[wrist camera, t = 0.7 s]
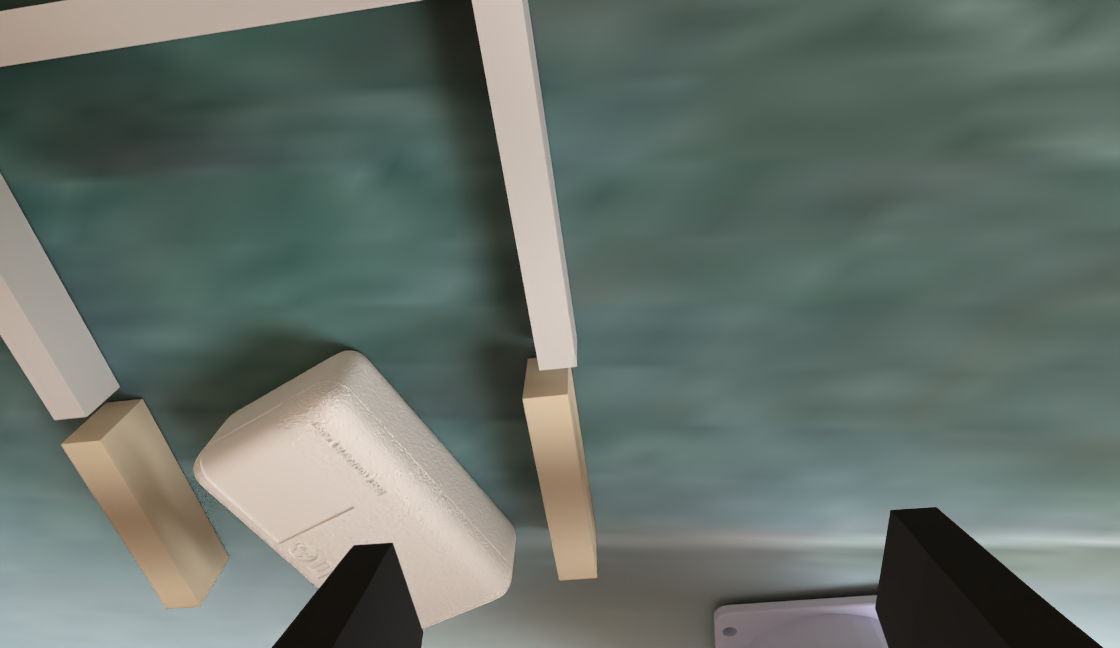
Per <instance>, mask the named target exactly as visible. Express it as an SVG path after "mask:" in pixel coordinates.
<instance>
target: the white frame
mask: <svg viewBox="0 0 1120 648" xmlns="http://www.w3.org/2000/svg"><path fill="white" fill-rule="evenodd" d="M415 1H421V0H65V1H59V2H53V3H46V4H40V5H34V6H28V7H22V8H16V9H10V10H4V11H0V67H3V66H9V65H16V64H22V63H28V62H35V61H41V60H47V59H54V58H60V57H66V56H73V55H79V54H85V53H92V52H98V51H104V50H111V49H117V48H123V47H130V46H136V45H142V44H149V43H155V42H161V41H168V40H174V39H180V38H187V37H193V36H199V35H206V34H212V33H218V32H225V31H231V30H237V29H244V28H250V27H256V26H263V25H269V24H275V23H282V22H288V21H294V20H301V19H307V18H313V17H320V16H326V15H332V14H339V13H345V12H351V11H358V10H364V9H370V8H377V7H383V6H389V5H396V4H402V3H408V2H415ZM472 5H473V11H474V16H475V22H476V27H477V33H478V38H479V44H480V49H481V54H482V60H483V65H484V71H485V76H486V82H487V87H488V93H489V98H490V104H491V109H492V115H493V120H494V126H495V131H496V136H497V142H498V147H499V153H500V158H501V164H502V169H503V175H504V180H505V186H506V191H507V197H508V202H509V208H510V213H511V219H512V224H513V229H514V235H515V240H516V246H517V251H518V257H519V262H520V268H521V273H522V279H523V284H524V290H525V295H526V301H527V306H528V311H529V317H530V322H531V328H532V333H533V339H534V344H535V350H536V355H537V361H538V366H539V371H541V370H550V369H560V368H570V367H577V335H576V328H575V321H574V314H573V307H572V301H571V294H570V287H569V280H568V273H567V266H566V259H565V253H564V246H563V239H562V232H561V225H560V218H559V211H558V205H557V198H556V191H555V184H554V177H553V170H552V163H551V156H550V150H549V143H548V136H547V129H546V122H545V115H544V108H543V102H542V95H541V88H540V81H539V74H538V67H537V60H536V54H535V47H534V40H533V33H532V26H531V19H530V12H529V5H528V0H472ZM0 335H1V337H2V338H3V340H4V342H5V343H6V345H7V346H8V348H9V349H10V351H11V353H12V354H13V356H14V357H15V359H16V361H17V362H18V364H19V365H20V367H21V368H22V370H23V372H24V373H25V375H26V376H27V378H28V379H29V381H30V383H31V384H32V386H33V387H34V389H35V390H36V392H37V394H38V395H39V397H40V398H41V400H42V401H43V403H44V405H45V406H46V408H47V409H48V411H49V412H50V414H51V416H52V417H53V419H54V420H62V419H71V418H81V417H87V416H88V415H90V414H91V413H92V412H93V411H94V410H95V409H96V408H97V407H98V406H100V405H101V404H102V403H103V402H104V401H105V400H106V399H107V398H108V397H110V396H111V395H112V394H113V393H114V392H115V391H116V390H117V389H118V388H120V386H119V384H118V382H117V381H116V379H115V377H114V375H113V373H112V372H111V370H110V368H109V366H108V364H107V363H106V361H105V359H104V357H103V356H102V354H101V352H100V350H99V348H98V347H97V345H96V343H95V341H94V339H93V338H92V336H91V334H90V332H89V330H88V329H87V327H86V325H85V323H84V322H83V320H82V318H81V316H80V314H79V313H78V311H77V309H76V307H75V305H74V304H73V302H72V300H71V298H70V296H69V295H68V293H67V291H66V289H65V287H64V286H63V284H62V282H61V280H60V279H59V277H58V275H57V273H56V271H55V270H54V268H53V266H52V264H51V262H50V261H49V259H48V257H47V255H46V253H45V252H44V250H43V248H42V246H41V245H40V243H39V241H38V239H37V237H36V236H35V234H34V232H33V230H32V228H31V227H30V225H29V223H28V221H27V219H26V218H25V216H24V214H23V212H22V210H21V209H20V207H19V205H18V203H17V202H16V200H15V198H14V196H13V194H12V193H11V191H10V189H9V187H8V185H7V184H6V182H5V180H4V178H3V176H2V175H1V173H0Z"/></svg>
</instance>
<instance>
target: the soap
mask: <svg viewBox="0 0 1120 648" xmlns="http://www.w3.org/2000/svg"><path fill="white" fill-rule="evenodd" d="M193 470H194V471H193V472H194V475H195V478H196V480H197V481H198V482H199V483H200V485H201V486H202V487H204V489H206V490H207V491H208V492H209V493H210V494H212V495H213V496H214V497H215V498H216V499H217V500H219V502H221V503H222V504H223V505H224V506H225V507H227V508H228V509H229V510H230V511H231V512H232V513H233V514H234V515H236V516H237V518H239V519H240V520H241V521H242V522H244V523H245V525H247V526H248V527H249V528H250V529H251V530H252V531H253V532H254V533H256V534H257V535H258V536H259V537H260V538H261V539H263V540H264V541H265V542H266V543H267V544H268V545H269V546H270V547H271V548H273V550H275V551H276V552H277V553H278V554H279V555H280V556H281V557H283V559H286V561H288V562H289V564H291V565H292V566H293V567H295V568H296V569H297V570H298V571H299V572H300V573H301V574H303V575H304V577H306V579H308V580H309V581H310V582H311V583H312V584H314V585H315V587H317V588H318V589H319V588H320V587H321V585H322V584H323V583H324V581H325V580H326V579H327V578H328V576H329V575H330V574H331V573H332V571H333V570H334V569H335V567H336V566H337V565H338V564H339V562H340V561H341V560H342V559H343V558H344V556H345V555H346V554H347V553H348V551H349V550H350V549H351V548H352V547H353V546H354V545H365V544H380V543H393V545H394V548H395V551H396V554H397V556H398V559H399V562H400V565H401V568H402V571H403V574H404V577H405V580H406V583H407V586H408V589H409V592H410V595H411V598H412V601H413V604H414V607H415V610H416V613H417V615H418V618H419V621H420V624H421V627H422V629H424V628H427V627H430V626H433V625H434V624H438V623H439V622H442V621H444V620H447V619H450V618H452V617H454V616H457V615H459V614H462V613H464V612H467V611H469V610H472V609H474V608H476V607H479V606H482V605H484V604H488V603H489V602H492V601H494V600H496V599H498V598H500V597H501V596H503V595H504V594H505V593H506V592H507V591H508V589H509V586H510V584H511V579H512V575H513V574H512V571H513V562H514V552H515V544H516V533H515V529H514V527H513V525H512V524H511V522H510V521H509V520H508V519H507V518H506V517H505V515H504V514H503V513H502V512H501V511H500V510H499V508H498V507H497V506H496V505H495V504H494V503H493V501H491V499H490V498H489V497H488V496H487V495H486V494H485V493H484V491H483V490H482V489H481V488H480V487H479V486H478V484H477V483H476V482H475V481H474V480H473V479H472V477H471V476H470V475H469V474H468V473H467V472H466V471H465V469H464V468H463V467H462V466H461V465H460V464H459V463H458V461H457V460H456V459H455V458H454V457H453V456H452V455H451V453H450V452H449V451H448V450H447V449H446V448H445V447H444V446H443V444H442V443H441V442H440V441H439V440H438V439H437V438H436V436H435V435H434V434H433V433H432V432H431V431H430V429H429V428H428V427H427V426H426V425H425V424H424V423H423V422H422V421H421V419H420V418H419V417H418V416H417V415H416V413H415V412H414V411H413V410H412V409H411V408H410V407H409V406H408V404H407V403H406V402H405V401H404V400H403V399H402V398H401V396H400V395H399V394H398V393H397V392H396V391H395V390H394V388H393V387H392V386H391V385H390V384H389V383H388V381H387V380H386V379H385V378H384V377H383V376H382V375H381V373H379V371H378V370H377V369H376V368H375V367H374V365H373V364H372V363H371V362H370V361H369V360H368V359H367V358H366V357H365V356H364V355H363V354H361V353H359V352H357V351H353V350H347V351H343V352H340V353H337V354H336V355H334V356H332V357H330V358H328V359H326V360H325V361H323V362H321V363H319V364H318V365H316V366H314V367H313V368H311V369H309V370H307V371H306V372H304V373H302V374H300V375H299V376H297V377H295V378H294V379H292V380H290V381H288V382H286V383H285V384H283V385H281V386H280V387H278V388H276V389H275V390H272V391H271V392H269V393H267V394H266V395H264V396H262V397H261V398H258V399H257V400H255V401H254V402H252V403H250V404H248V405H246V406H245V407H243V408H241V409H239V410H238V411H236V412H235V413H233V414H232V415H231V416H230V417H229V418H228V419H227V420H226V421H225V422H224V423H223V425H222V426H221V427H220V428H219V430H218V431H217V432H216V434H215V435H214V436H213V437H212V439H211V440H210V441H209V442H208V444H207V445H206V446H205V447H204V449H203V450H202V451H201V452H200V454H199V455H198V457H197V458H196V461H195V463H194V468H193Z"/></svg>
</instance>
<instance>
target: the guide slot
mask: <svg viewBox="0 0 1120 648" xmlns="http://www.w3.org/2000/svg"><path fill="white" fill-rule="evenodd" d="M522 399H523V404H524V409H525V414H526V419H527V424H528V429H529V434H530V439H531V444H532V449H533V454H534V459H535V464H536V468H537V473H538V478H539V483H540V488H541V493H542V498H543V503H544V508H545V513H546V518H547V523H548V528H549V533H550V538H551V542H552V547H553V552H554V557H555V562H556V567H557V572H558V577H559V581H561V580H575V579H589V578H597V550H596V527H595V520H594V514H593V507H592V501H591V494H590V488H589V481H588V475H587V468H586V462H585V455H584V449H583V443H582V436H581V430H580V423H579V417H578V410H577V404H576V397H575V391H574V384H573V378H572V371H571V367H570V368H560V369H550V370H541V371H539V366H538V361H537V358H530V359H528V361H527V369H526V376H525V383H524V391H523V398H522ZM61 446H62V447H63V449H64V450H65V452H66V454H67V455H68V457H69V458H70V460H71V461H72V463H73V464H74V466H75V468H76V469H77V471H78V472H79V474H80V475H81V477H82V478H83V480H84V482H85V483H86V485H87V486H88V488H89V489H90V491H91V492H92V494H93V495H94V497H95V499H96V500H97V502H98V503H99V505H100V506H101V508H102V509H103V511H104V513H105V514H106V516H107V517H108V519H109V520H110V522H111V523H112V525H113V527H114V528H115V530H116V531H117V533H118V534H119V536H120V537H121V539H122V540H123V542H124V544H125V545H126V547H127V548H128V550H129V551H130V553H131V554H132V556H133V558H134V559H135V561H136V562H137V564H138V565H139V567H140V568H141V570H142V572H143V573H144V575H145V576H146V578H147V579H148V581H149V582H150V584H151V586H152V587H153V589H154V590H155V592H156V593H157V595H158V596H159V598H160V599H161V601H162V603H163V604H164V606H165V607H166V609H173V608H186V607H200V606H201V605H202V603H203V601H204V600H205V598H206V596H207V595H208V593H209V591H210V590H211V588H212V586H213V585H214V583H215V581H216V580H217V578H218V576H219V575H220V573H221V571H222V570H223V568H224V566H225V565H226V563H227V561H228V560H229V557H228V555H227V553H226V551H225V549H224V547H223V546H222V544H221V542H220V540H219V538H218V536H217V535H216V533H215V531H214V529H213V527H212V525H211V524H210V522H209V520H208V518H207V516H206V514H205V512H204V511H203V509H202V507H201V505H200V503H199V501H198V500H197V498H196V496H195V494H194V492H193V490H192V489H191V487H190V485H189V483H188V481H187V479H186V478H185V476H184V474H183V472H182V470H181V468H180V467H179V465H178V463H177V461H176V459H175V457H174V455H173V454H172V452H171V450H170V448H169V446H168V444H167V443H166V441H165V439H164V437H163V435H162V433H161V432H160V430H159V428H158V426H157V424H156V422H155V421H154V419H153V417H152V415H151V413H150V411H149V410H148V408H147V406H146V404H145V402H144V400H143V399H136V400H127V401H117V402H108V403H106V404H104V405H103V406H102V407H101V408H100V409H99V410H98V411H97V412H96V413H94V414H93V415H92V416H91V417H90V418H89V419H88V420H87V421H86V422H85V423H83V424H82V425H81V426H80V427H79V428H78V429H77V430H76V431H75V432H74V433H72V434H71V435H70V436H69V437H68V438H67V439H66V440H65V441H64V442H63V443H61Z"/></svg>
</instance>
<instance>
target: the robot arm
mask: <svg viewBox="0 0 1120 648" xmlns="http://www.w3.org/2000/svg"><path fill="white" fill-rule="evenodd" d="M714 635H715V648H1103V647H1102V646H1100V645H1099V644H1098V643H1097V642H1096V641H1094V640H1093V639H1092V638H1091V637H1089V636H1088V635H1087V634H1086V633H1084V632H1083V631H1082V630H1081V629H1080V628H1078V627H1077V626H1076V625H1075V624H1073V623H1072V622H1071V621H1070V620H1068V619H1067V618H1066V617H1065V616H1064V615H1062V614H1061V613H1060V612H1059V611H1057V610H1056V609H1055V608H1054V607H1053V606H1051V605H1050V604H1049V603H1048V602H1047V601H1045V600H1044V599H1043V598H1042V597H1041V596H1039V595H1038V594H1037V593H1036V592H1035V591H1034V590H1032V589H1031V588H1030V587H1029V586H1028V585H1026V584H1025V583H1024V582H1023V581H1022V580H1021V579H1019V578H1018V577H1017V576H1016V575H1015V574H1014V573H1012V572H1011V571H1010V570H1009V569H1008V568H1006V567H1005V566H1004V565H1003V564H1002V563H1001V562H999V561H998V560H997V559H996V558H995V557H994V556H992V555H991V554H990V553H989V552H988V551H987V550H985V549H984V548H983V547H982V546H981V545H980V544H979V543H977V542H976V541H975V540H974V539H973V538H972V537H970V536H969V535H968V534H967V533H966V532H965V531H963V530H962V529H961V528H960V527H959V526H958V525H956V524H955V523H954V522H953V521H952V520H950V519H949V518H948V517H947V516H946V515H945V514H943V513H942V512H941V511H940V510H939V509H938V508H936V507H933V508H917V509H902V510H891V511H890V518H889V524H888V530H887V536H886V543H885V549H884V555H883V561H882V568H881V574H880V580H879V586H878V593H877V595H869V596H854V597H839V598H824V599H809V600H794V601H779V602H765V603H750V604H735V605H725V606H721V607H719V608H718V609H717V610H716V611H715V612H714ZM422 637H423V630H422V627H421V624H420V621H419V618H418V615H417V613H416V610H415V607H414V604H413V601H412V598H411V595H410V592H409V589H408V586H407V583H406V580H405V577H404V574H403V571H402V568H401V565H400V562H399V559H398V556H397V554H396V551H395V548H394V545H393V543H380V544H365V545H354V546H353V547H352V548H351V549H350V550H349V551H348V553H347V554H346V555H345V556H344V558H343V559H342V560H341V561H340V562H339V564H338V565H337V566H336V567H335V569H334V570H333V571H332V573H331V574H330V575H329V576H328V578H327V579H326V580H325V581H324V583H323V584H322V585H321V587H320V588H319V589H318V590H317V592H316V593H315V594H314V595H313V597H312V598H311V599H310V601H309V602H308V603H307V604H306V606H305V607H304V608H303V609H302V611H301V612H300V613H299V614H298V616H297V617H296V618H295V620H294V621H293V622H292V623H291V625H290V626H289V627H288V628H287V630H286V631H285V632H284V633H283V635H282V636H281V637H280V638H279V639H278V641H277V642H276V643H275V644H274V646H273V647H272V648H421V644H422Z"/></svg>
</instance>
